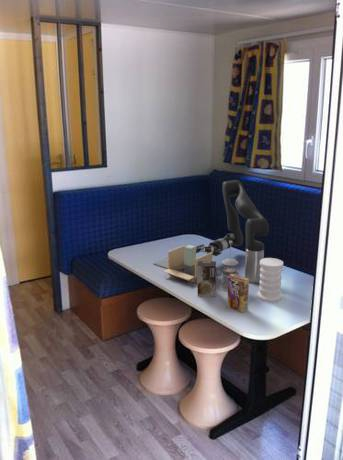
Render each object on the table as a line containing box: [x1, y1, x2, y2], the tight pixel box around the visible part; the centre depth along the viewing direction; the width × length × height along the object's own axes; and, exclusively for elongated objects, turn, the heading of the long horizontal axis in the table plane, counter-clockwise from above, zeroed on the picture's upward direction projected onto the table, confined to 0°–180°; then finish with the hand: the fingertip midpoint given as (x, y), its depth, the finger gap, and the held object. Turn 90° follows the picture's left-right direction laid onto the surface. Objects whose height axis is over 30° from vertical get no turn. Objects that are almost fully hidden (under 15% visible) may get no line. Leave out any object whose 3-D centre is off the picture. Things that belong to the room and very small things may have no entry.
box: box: [183, 244, 197, 276], centre depth 240 cm, size 4×4×16 cm
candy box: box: [226, 274, 250, 313], centre depth 201 cm, size 9×4×15 cm, turn 47°
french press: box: [219, 241, 239, 293], centre depth 221 cm, size 10×12×25 cm
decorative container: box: [256, 257, 284, 303], centre depth 212 cm, size 12×12×18 cm
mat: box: [152, 257, 168, 270], centre depth 258 cm, size 12×12×1 cm
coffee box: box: [196, 260, 217, 298], centre depth 216 cm, size 9×6×16 cm
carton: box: [162, 244, 218, 284], centre depth 240 cm, size 19×24×13 cm
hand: (200, 253), depth 246 cm, fingers open, 8 cm apart
